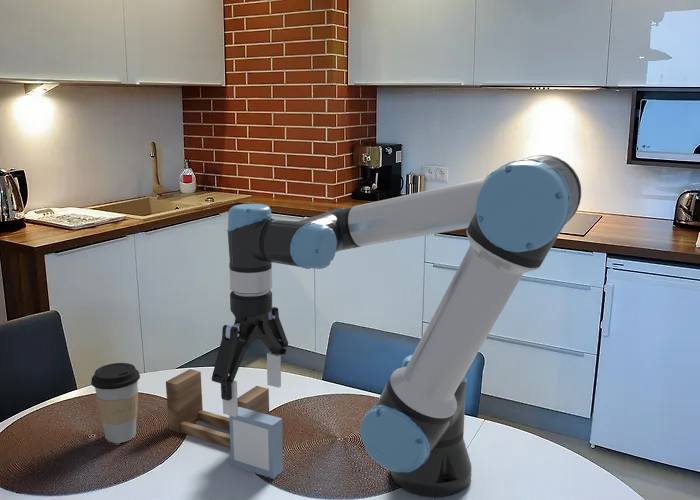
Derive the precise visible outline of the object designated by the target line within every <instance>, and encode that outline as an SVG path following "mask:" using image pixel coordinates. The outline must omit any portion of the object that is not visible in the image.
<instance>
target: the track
mask: <svg viewBox="0 0 700 500" xmlns="http://www.w3.org/2000/svg"><path fill="white" fill-rule="evenodd" d="M201 373H202V371H199V370H196V369H191V368H189V369H187V370H185V371H184V372H181V373H180V374H178V375H176V376H174V377H172V378H170V379H168V380H166V381H165V390H166V405H167V406H166V407H167V421H168V422H167V423H168V430H169V431H172V432H173V431H174V432H176V433H182V434H184V435H185V434H186V435H189V436H193V437H195V438H198V439H200V440H201V439H202V440H205V441H208V442H211V443H215V444H218V445H220V446H221V445H222V446H224V447H228V448H230V449H231V445H230V433H229V434H228V433H225V432H222V431H218V430H215V429H213V428H212V429H211V428H208V427H205V426H202V425H198V424H195V423H197V422H202V423H205V424H209V425H211V426H212V425H213V426H215V427H218V428H222V429H225V430H228V431H230V421H229V416H223V415H220V414H216V413H213V412H210V411H206V410H203V394H202V393H203V391H202V389H203V388H202V374H201ZM269 390H270V388H267V387H264V386H260V385H255V386H254V387H253V388H251V389H250V390H247V391H246V392H245V393H243V394H241V395H240V396H237V401H238V407H242V408H246V409H249V410H253V411H257V412H260V413H264V414H268V415H270V391H269Z"/></svg>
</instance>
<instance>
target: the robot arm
mask: <svg viewBox="0 0 700 500" xmlns="http://www.w3.org/2000/svg"><path fill="white" fill-rule="evenodd" d="M581 199H582V184H581V181H580V178H579V176H578V174H577V172H576V170H575V169H574V168H573V167H572V166H571V165H570V164H569V163H568V162H566V161H564V160H563V159H561V158H559V157H557V156H554V155H550V154H537V155H531V156H528V157H525V158H522V159H515V160H513V161H510V162H507V163H505V164H503V165H501V166H500V167H499V168H497V169H491V170H490V171H489V172H488V174H487V175H486V176H485V178H481V179H475V180H471V181H465V182H463V183H457V184H453V185H447V186H443V187H439V188H433V189H429V190H425V191H420V192H414V193H409V194H406V195H405V194H404V195H401V196H396V197H392V198H391V197H390V198H386V199H382V200H377V201H373V202H368V203H363V204H358V205H354V206H350V207H339V208H335V209H331V210H329V211H327V212H324V213H321V214H318V215H313V216H310V217H308V218H304V219H301V220H295V221H294V220H281V219H276V218H273V215H272V209H271V207H270V206H268V205H266V204H263V203H242V204H237V205H233V206H231V208H229V210H228V213H227V214H228V215H227V217H228V218H227V230H226V233H227V241H228V242H227V243H228V244H227V245H228V257H229V265H228V266H229V268H228V269H229V290H230V291H231V292H230V294H229V304H230V309H229V310H230V312H231V313H232V315H234V324H232V325H227V324H224V325H223V326H222V329H221V330H222V333H221V335H222V336H221V342H220V344H219V349H218V352H217V356H216V360H215V365H214V368H213V371H212V376H211V381H212V382H213V383H217V384H220V397H221V399H222V413H223V414H224V415H227V416H229V415H230V416H233V417H236V416H238V401H237V398H238V381H237V380H235V378H236V375H237V373H238V371H239V368H240V366H241V363H242V361H243V358H244V356H245V353H246V352H247V351H246V350H247V349H249V348H250V347H251V345H252V343H254V342H255V341H256V340H259V339H260V340H261V341H262V343H263V344H264V345H265V346H266V348H267V349H268V351H269V352H268V353H266V382H267V386H271V387H274V388H278V389H280V388H281V387H282V372H281V371H282V368H281V367H282V355H286V353H287V348H288V346H289V341H288V339H287V335H286V333H285V331H284V328H283V327H284V326H283V325H282V322H281V320H280V319H281V318H280V316H279V315H280V312H279V308H278V307H276V306H273V292H272V291H271V290H272V288H273V266H272V265H273V264H280V265H281V264H282V265H286V266H290V267H291V266H293V267H296V268H297V267H298V268H301V269H307V270H310V269H317V270H323V269H326V268H327V267H329V266H330V265H331V263H332V261H333V260H334V259H335V256H336V253H337V252H340V251H344V250H345V251H346V250H351V249H357V248H361V247H366V246H371V245H377V244H382V243H383V244H384V243H388V242H394V241H400V240H401V241H402V240H405V239H406V240H407V239H412V238H417V237H418V238H419V237H425V236H428V235H435V234H440V233H446V232H453V231H459V230H464V229H466V235H467V239H468V241H469V244H470V245H469V247H468V249H467V250H466V253H465V255H464V256H463V258H462V260H461V262H460V264H459V266H458V268H457V270H456V271H455V274H454V275H453V277H452V279H451V282H450V283H449V285H448V287H447V289H446V290H445V293H444V294H443V296H442V298H441V300H440V301H439V304H438V306H437V308H436V310H435V312H434V313H433V316H432V317H431V320H430V321H429V322H428V325H427V326H426V329H425V331H424V332H423V335H422V337H421V339H420V340H419V342H418V344H417V346H416V348H415V350H414V351H413V353H412V354H410V355H408V356H405V358H403V360H402V362H401V363H402V364H401V367H399V368H397V369H395V370H393V372H392V374H391V375H390V376H389V379H388V381H387V382H386V385H385V386H384V388H383V391H382V393H381V394H380V396H379V397H378V400H377V402H376V403H375V404H374V406H372V407H370V408H369V409H368V410H367V411H366V412H365V414H364V416H363V418H362V420H361V423H360V429H359V432H360V440H361V442H362V443H363V445H364V449H365V451H366V452H367V454H368V455H369V456H370V458H371V459H373V461H374V462H375V463H377V464H378V465H380V466H381V467H382V468H384V469H386V470H388V471H390V476H391V479H392V480H393V481H394V482H395V483H396V484H397V486H399V487H400V488H402V489H404V490H406V491H408V492H410V493H413V494H415V495H416V494H417V495H419V496H424V497H448V496H450V495H455V494H457V493H460V492H462V491H464V490H465V489H466V488H467V487H468V486H469V484H470V483H471V481H472V480H471V479H472V462H471V459H470V456H469V453H468V449H467V446H466V442H465V440H464V430H465V413H466V411H465V410H466V409H465V408H466V396H467V395H466V392H467V390H466V388H467V383H468V379H467V373H468V371H469V369H470V367H471V365H472V363H473V361H474V360H475V359H476V356H477V355H478V353H479V351H480V350H481V348H482V346H483V345H484V343H485V341H486V339H487V337H488V336H489V334H490V332H491V331H492V329H493V327H494V325H495V324H496V323H497V320H498V318H499V317H500V315H501V313H502V311H503V310H504V308H505V306H506V304H507V303H508V301H509V299H510V298H511V296H512V294H513V293H514V290H515V289H516V287H517V286H518V283H519V282H520V281H521V278H522V277H523V275H524V273H528V272H532V271H535V270H536V271H537V270H539V269H540V268H541V266H542V264H543V262H544V261H545V259H546V257H547V256H548V254H549V252H550V251H551V249H552V248H553V245H554V244H555V242H556V240H557V239H558V237H559V236H560V234H561V232H562V230H563V228H564V226H566V224H567V223H568V222H569V221H570V220H571V219H572V218H573V217H574V216H575V215H576V212H577V211H578V209H579V207H580V204H581ZM272 263H273V264H272ZM239 339H240V340H239Z"/></svg>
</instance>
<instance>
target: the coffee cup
mask: <svg viewBox="0 0 700 500" xmlns="http://www.w3.org/2000/svg"><path fill="white" fill-rule="evenodd" d="M140 378H141V375H140V372H139V370H138V369H137V368H136V366H135V365H134V364H131V363H127V362H116V363H115V362H114V363H109V364H105V365H102V366H100V367H98V368H97V369H95V371H94V375H92V377H91V381H90V383H91V386H92V387H94V390H95V398H96V402H97V407H98V412H99V418H100V421H101V422H102V427H103V432H104V436H105V440H106V439H107V440H109V441H111V442H114V443H121V442H126V441H128V440H131V439H132V438H134V437H135V438H136V436H137V416H138V410H139V409H138V406H139V405H138V403H139V401H138V400H139V388H138V386H139V385H138V383H139V382H138V381H139V380H140ZM135 435H136V436H135ZM135 438H134V439H135ZM132 440H133V439H132ZM132 440H131V441H132Z"/></svg>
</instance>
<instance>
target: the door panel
mask: <svg viewBox="0 0 700 500" xmlns="http://www.w3.org/2000/svg"><path fill="white" fill-rule="evenodd" d="M228 418H229V421H230V430H229V435H230V445H231V448H230V465H231V466H232V467H236V468H237V469H241V470H245V471H247V472H251V473H254V474H256V475H260V476H263V477H266V478H269V477H270V479H272V478H273V479H272V480H275V479H276V478H277V477H278V476H279V475H278V474H280V473H281V472H282V471H283V472H284V454H283V453H284V452H283V451H284V450H283V447H284V446H283V445H284V444H283V443H284V442H283V440H284V439H283V418H282V417H278V416H275V415H271V414H269V415H268V414H264V413H260V412H257V411H253V410H249V409H246V408H242V407H238V416H236V417H233V416H230V415H228ZM283 472H282V473H283ZM282 473H281V474H282ZM281 474H280V475H281ZM277 475H278V476H277ZM276 476H277V477H276ZM275 477H276V478H275Z"/></svg>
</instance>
